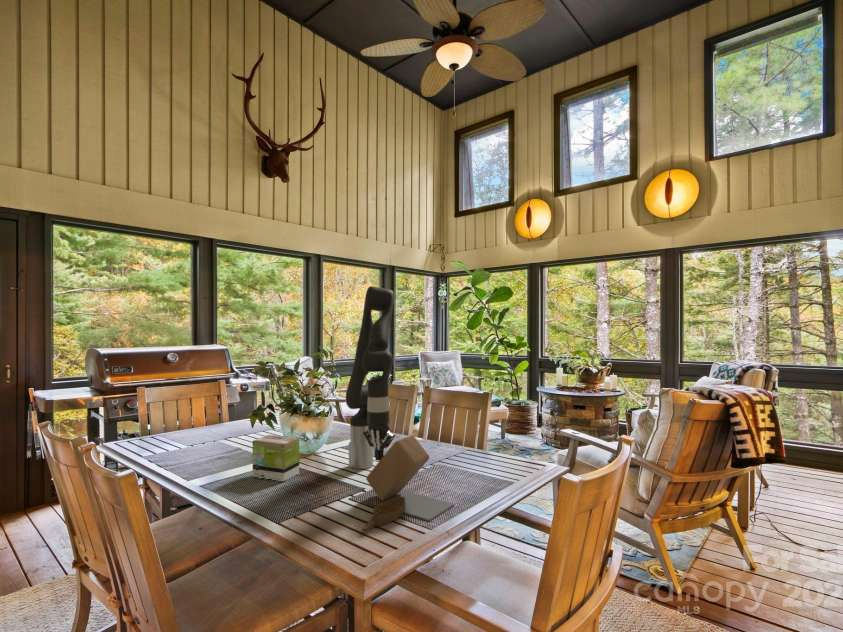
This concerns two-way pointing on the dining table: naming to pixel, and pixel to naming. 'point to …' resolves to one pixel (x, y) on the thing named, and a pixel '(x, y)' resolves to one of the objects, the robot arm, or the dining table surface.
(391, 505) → the leaf carving
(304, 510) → the dining table surface
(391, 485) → the block
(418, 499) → the mat
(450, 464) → the dining table surface
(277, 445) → the tea box
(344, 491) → the dining table surface
